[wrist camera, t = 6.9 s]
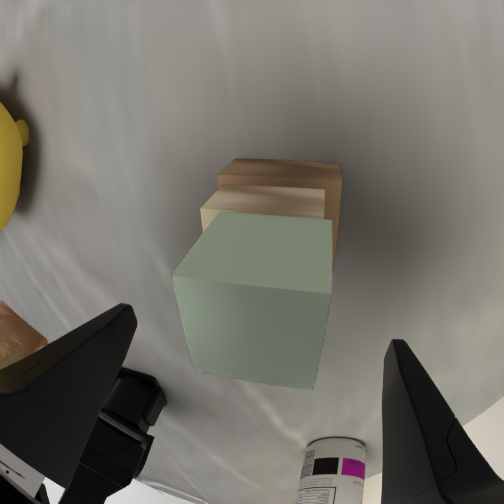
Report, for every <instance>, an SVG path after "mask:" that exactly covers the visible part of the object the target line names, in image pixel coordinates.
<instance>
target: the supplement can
mask: <svg viewBox="0 0 504 504" xmlns="http://www.w3.org/2000/svg"><path fill="white" fill-rule="evenodd" d="M365 463H366V448H365V447H364V446H362V444H361V443H359V442H358V441H355V440H352V439H347V438H327V439H322V440H318V441H316V442H314V443H312V445H310V446H309V447H307V449H306V451H305V457H304V462H303V468H302V473H301V479H300V484H299V489H298V494H297V499H296V503H295V504H362V498H363V488H364V476H365Z"/></svg>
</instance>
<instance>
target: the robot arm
mask: <svg viewBox="0 0 504 504" xmlns="http://www.w3.org/2000/svg"><path fill="white" fill-rule="evenodd" d="M136 328H137V319H136V316H135V313H134V311H133V308H132V306H131V305H129V304H124V303H120V304H118V305H116V306H115V307H113V308H111V309H109V310H108V311H106V312H104V313H102V314H101V315H99V316H97V317H95V318H93V319H92V320H90V321H88V322H86V323H85V324H83V325H81V326H79V327H78V328H76V329H74V330H72V331H71V332H69V333H67V334H65V335H64V336H62V337H60V338H59V339H57V340H55V341H53V342H52V343H50V344H48V346H45V347H43V348H41V349H40V350H38V351H36V352H34V353H32V354H31V355H29V356H27V357H25V358H23V359H21V360H19V361H17V362H15V363H12V364H10V365H8V366H6V367H4V368H2V369H0V504H50V503H49V499H48V496H47V492H46V488H45V485H44V484H43V483H42V482H43V480H44V479H45V477H47V478H49V479H50V480H52V481H53V482H55V483H56V484H58V485H60V486H62V487H63V488H65V490H64V492H63V495H62V496H61V498H60V501H59V502H58V504H104V502H105V500H106V498H107V497H108V496H110V495H112V494H114V493H116V492H117V491H119V490H121V489H123V488H125V487H126V486H128V485H129V484H130V483H131V481H132V479H133V478H134V479H135V478H137V477H138V475H139V474H140V472H141V471H142V469H143V467H144V465H145V462H146V460H147V457H148V454H149V451H150V448H151V445H152V443H153V440H154V437H153V436H152V435H148V434H147V431H148V429H149V427H150V426H154V425H155V423H156V421H157V419H158V416H159V414H160V412H161V410H162V408H163V407H166V405H167V403H166V401H165V399H164V397H163V394H162V392H161V390H160V388H159V386H158V384H157V382H156V380H155V379H154V378H153V377H150V376H146V375H143V374H140V373H136V372H133V371H130V370H127V369H124V368H121V366H122V364H123V362H124V360H125V357H126V355H127V352H128V349H129V347H130V344H131V341H132V338H133V336H134V333H135V331H136ZM382 426H383V471H382V496H381V504H504V481H503V480H502V479H501V478H500V477H499V476H498V475H497V474H496V473H495V472H494V471H493V469H492V468H491V467H490V465H489V464H488V462H487V461H486V460H485V458H484V457H483V456H482V454H481V453H480V452H479V451H478V449H477V448H476V446H475V445H474V444H473V442H472V441H471V439H470V438H469V437H468V435H467V434H466V432H465V430H464V429H463V427H462V426H461V424H460V423H459V421H458V419H457V418H455V415H454V413H453V412H452V410H451V408H450V407H449V405H448V404H447V402H446V401H445V399H444V397H443V396H442V394H441V393H440V391H439V390H438V388H437V387H436V385H435V384H434V382H433V381H432V379H431V378H430V376H429V375H428V373H427V372H426V370H425V369H424V367H423V366H422V364H421V363H420V362H419V360H418V359H417V357H416V356H415V354H414V353H413V352H412V350H411V349H410V347H409V346H408V344H407V343H406V342H405V341H404V340H402V339H393V340H391V342H390V345H389V347H388V350H387V352H386V355H385V358H384V374H383V392H382Z"/></svg>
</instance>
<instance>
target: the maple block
mask: <svg viewBox="0 0 504 504" xmlns="http://www.w3.org/2000/svg"><path fill="white" fill-rule="evenodd" d="M324 203H325V189H311V188H295V187H277V186H253V185H221V186H220V188H219V189H218V190H217V191H216V192H215V193H214V194H213V195H212V196H211V197H210V198H209V199H208V201H207V202H206V203H205V204H204V205H203V206H202V207H201V208H200V212H201V220H202V228H203V232H204V231H205V229H206V228H207V227H208V225H209V224H210V223H211V222H212V220H213V219H214V218H215V216H216V215H217V214H218V212H233V213H248V214H263V215H277V216H290V217H303V218H315V219H324Z"/></svg>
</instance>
